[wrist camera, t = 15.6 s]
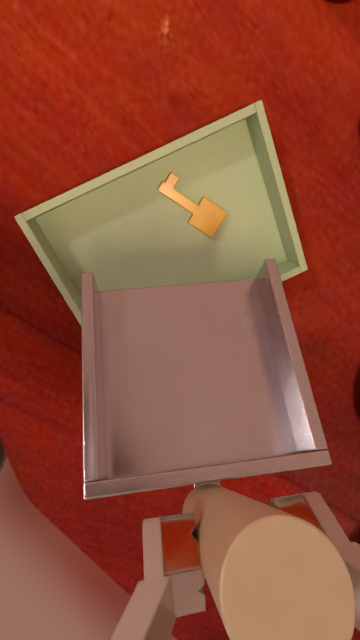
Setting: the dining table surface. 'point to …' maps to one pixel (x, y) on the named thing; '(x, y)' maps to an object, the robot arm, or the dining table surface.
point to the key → (195, 207)
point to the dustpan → (215, 439)
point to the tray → (173, 215)
